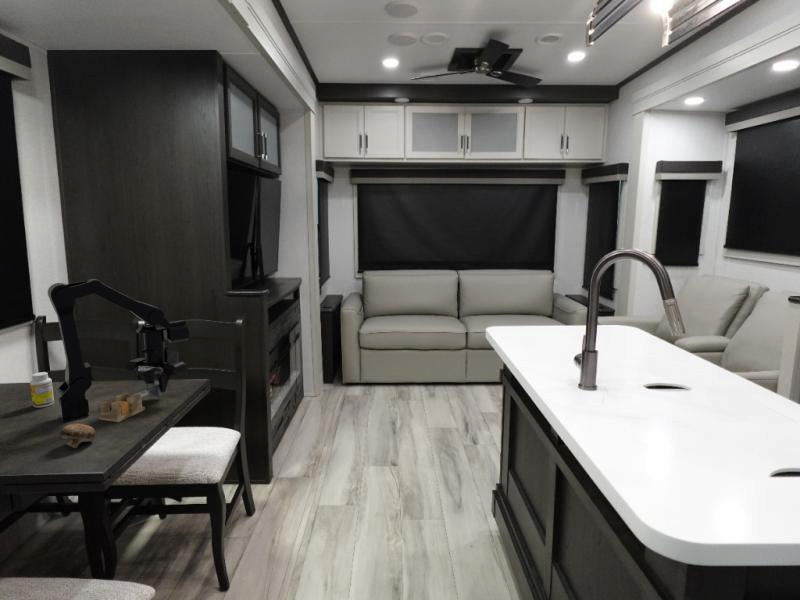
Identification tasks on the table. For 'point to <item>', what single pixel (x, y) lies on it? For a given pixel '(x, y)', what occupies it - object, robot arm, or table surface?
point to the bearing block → (115, 414)
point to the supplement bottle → (41, 390)
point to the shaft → (151, 390)
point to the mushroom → (77, 434)
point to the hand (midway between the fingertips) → (158, 391)
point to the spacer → (123, 406)
